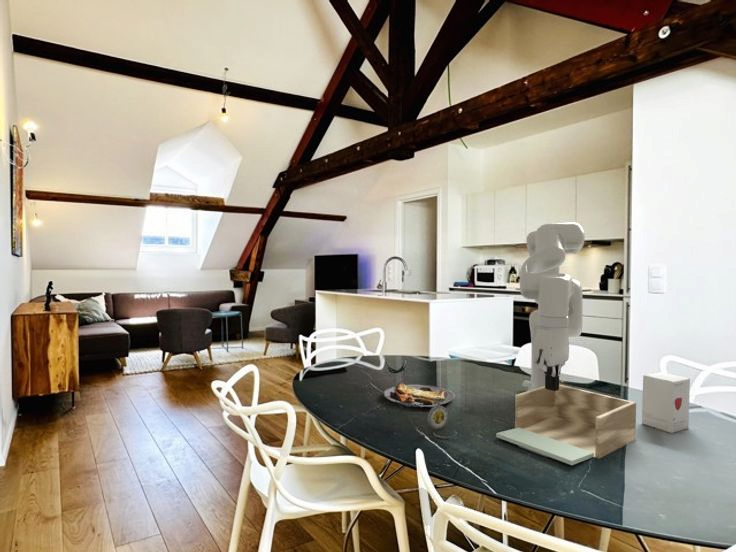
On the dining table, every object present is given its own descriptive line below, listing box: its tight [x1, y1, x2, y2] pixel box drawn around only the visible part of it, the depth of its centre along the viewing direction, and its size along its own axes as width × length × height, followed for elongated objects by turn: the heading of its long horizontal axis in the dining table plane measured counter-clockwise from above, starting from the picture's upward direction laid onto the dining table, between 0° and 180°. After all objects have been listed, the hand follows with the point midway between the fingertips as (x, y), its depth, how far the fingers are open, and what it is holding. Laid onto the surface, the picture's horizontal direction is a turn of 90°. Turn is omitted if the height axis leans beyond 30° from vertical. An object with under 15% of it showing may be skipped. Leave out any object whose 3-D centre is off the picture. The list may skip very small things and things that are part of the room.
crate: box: [514, 384, 637, 460], centre depth 127 cm, size 24×20×11 cm
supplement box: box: [641, 371, 691, 434], centre depth 136 cm, size 9×9×15 cm
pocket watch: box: [427, 397, 458, 440], centre depth 130 cm, size 8×8×10 cm
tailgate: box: [495, 427, 595, 466], centre depth 118 cm, size 21×2×10 cm
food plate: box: [382, 382, 456, 408], centre depth 163 cm, size 25×23×4 cm
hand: (551, 389), depth 123 cm, fingers closed
